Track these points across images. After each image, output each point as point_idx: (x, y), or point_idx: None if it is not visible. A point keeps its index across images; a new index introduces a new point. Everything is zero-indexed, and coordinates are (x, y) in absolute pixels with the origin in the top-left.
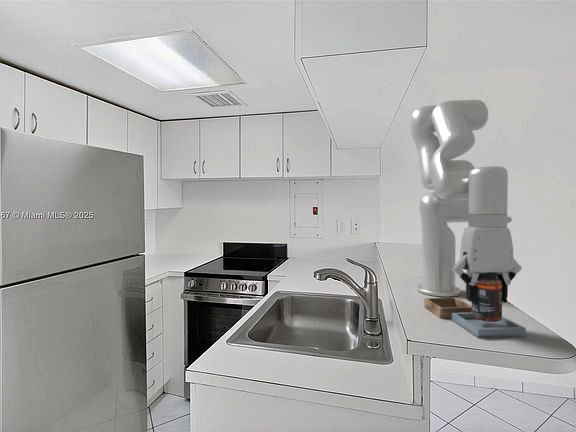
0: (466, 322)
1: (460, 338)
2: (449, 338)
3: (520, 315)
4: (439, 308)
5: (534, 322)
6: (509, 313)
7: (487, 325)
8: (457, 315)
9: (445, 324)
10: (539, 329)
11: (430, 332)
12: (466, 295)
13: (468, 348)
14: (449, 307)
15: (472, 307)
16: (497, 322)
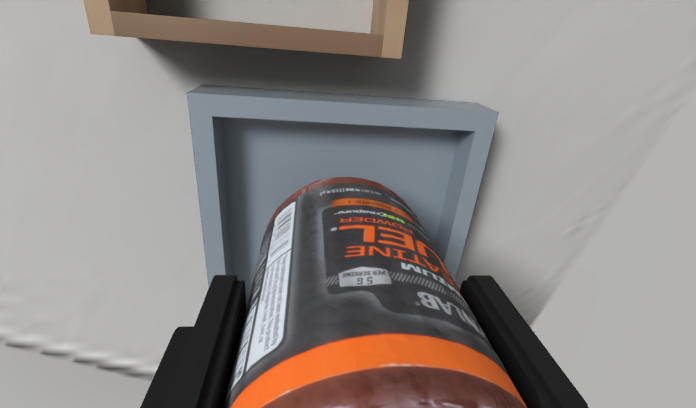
0: (205, 257)
1: (141, 307)
2: (88, 304)
3: (684, 65)
4: (89, 20)
5: (628, 176)
6: (666, 15)
7: None
8: (205, 149)
9: (131, 145)
10: (555, 251)
11: (3, 240)
12: (176, 338)
13: (135, 376)
14: (190, 21)
15: (256, 265)
16: (430, 188)
